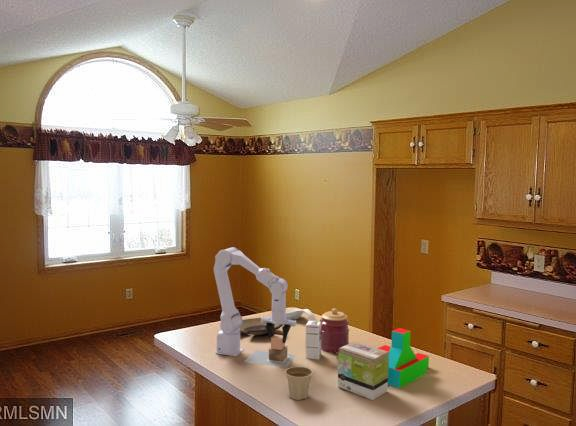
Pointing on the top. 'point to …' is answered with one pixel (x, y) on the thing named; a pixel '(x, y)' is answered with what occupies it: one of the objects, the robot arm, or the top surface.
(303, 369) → the flower pot
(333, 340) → the canister
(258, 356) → the mat
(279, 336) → the terracotta block
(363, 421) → the top surface
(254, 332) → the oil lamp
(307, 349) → the syrup box
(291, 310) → the spoon rest
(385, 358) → the tea box
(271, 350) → the walnut block
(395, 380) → the building blocks toy
